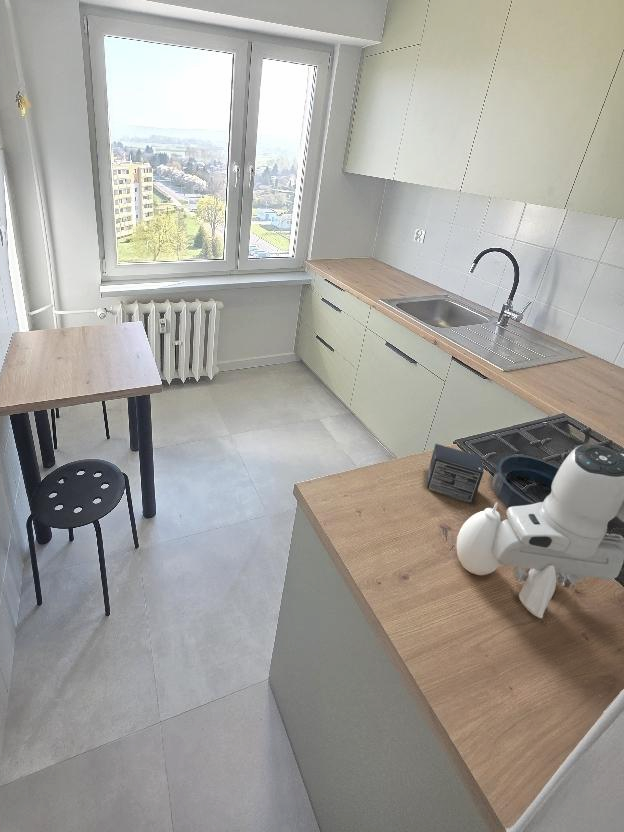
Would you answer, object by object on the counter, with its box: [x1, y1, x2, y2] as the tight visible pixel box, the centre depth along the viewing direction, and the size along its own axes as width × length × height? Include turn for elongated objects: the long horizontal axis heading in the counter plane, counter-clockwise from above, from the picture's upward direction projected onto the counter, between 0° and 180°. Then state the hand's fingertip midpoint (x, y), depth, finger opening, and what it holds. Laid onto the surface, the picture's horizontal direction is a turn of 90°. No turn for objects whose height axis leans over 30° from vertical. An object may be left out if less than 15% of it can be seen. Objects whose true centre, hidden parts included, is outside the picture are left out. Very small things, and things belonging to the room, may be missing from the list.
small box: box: [426, 443, 485, 504], centre depth 101 cm, size 11×6×10 cm, turn 66°
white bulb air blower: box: [456, 501, 502, 576], centre depth 81 cm, size 8×8×18 cm
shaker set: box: [518, 565, 560, 619], centre depth 78 cm, size 12×4×11 cm, turn 134°
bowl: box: [491, 454, 560, 509], centre depth 100 cm, size 18×18×6 cm
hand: (540, 580), depth 78 cm, fingers closed on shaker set, 6 cm apart
